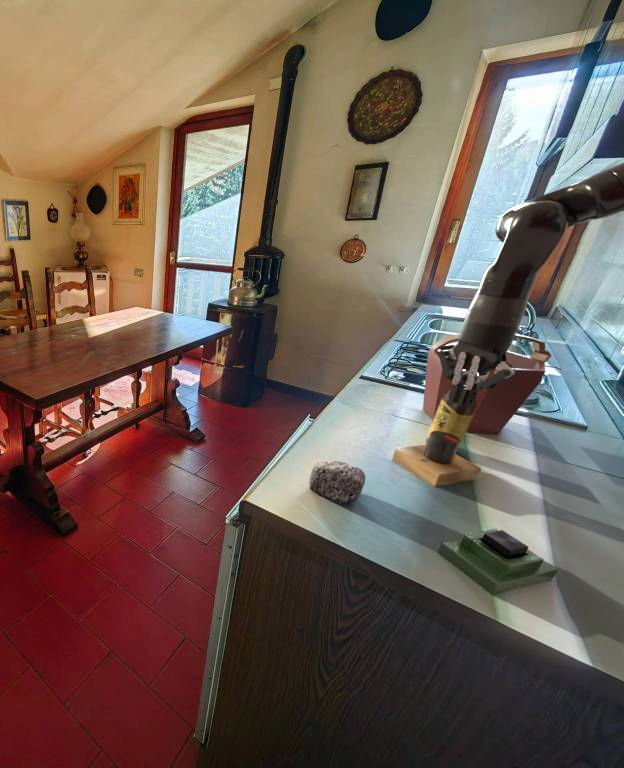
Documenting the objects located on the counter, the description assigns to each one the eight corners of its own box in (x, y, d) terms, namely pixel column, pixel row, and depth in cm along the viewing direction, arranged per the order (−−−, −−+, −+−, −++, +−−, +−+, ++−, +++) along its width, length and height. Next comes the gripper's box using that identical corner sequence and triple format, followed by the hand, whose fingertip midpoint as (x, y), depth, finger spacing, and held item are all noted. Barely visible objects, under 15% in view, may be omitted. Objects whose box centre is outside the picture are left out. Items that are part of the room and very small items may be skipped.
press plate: (497, 538, 62) (502, 529, 61) (524, 555, 58) (529, 546, 58) (480, 541, 61) (484, 533, 60) (506, 559, 58) (511, 550, 57)
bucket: (511, 416, 110) (551, 330, 100) (536, 452, 92) (588, 352, 83) (405, 396, 122) (432, 317, 112) (411, 424, 104) (443, 334, 95)
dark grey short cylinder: (417, 453, 85) (425, 431, 83) (433, 449, 87) (442, 428, 85) (440, 465, 81) (449, 443, 79) (457, 462, 82) (467, 439, 80)
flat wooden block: (430, 454, 91) (434, 442, 89) (476, 479, 82) (481, 467, 80) (391, 459, 88) (396, 447, 87) (434, 486, 79) (439, 473, 78)
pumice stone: (329, 485, 83) (294, 481, 79) (345, 454, 81) (310, 448, 77) (372, 517, 74) (335, 514, 70) (391, 482, 72) (354, 478, 68)
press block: (493, 540, 66) (503, 522, 64) (552, 580, 59) (564, 560, 57) (437, 552, 63) (445, 533, 62) (491, 595, 56) (502, 574, 55)
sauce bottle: (421, 438, 98) (449, 363, 90) (452, 444, 95) (484, 368, 87) (428, 450, 92) (458, 372, 85) (461, 457, 90) (495, 377, 82)
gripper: (552, 328, 67) (510, 417, 74) (469, 311, 79) (440, 389, 86) (519, 329, 65) (480, 421, 72) (440, 312, 77) (412, 392, 84)
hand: (458, 403), depth 79 cm, fingers closed
